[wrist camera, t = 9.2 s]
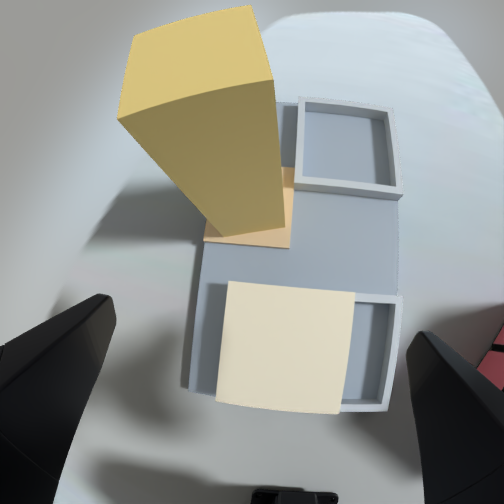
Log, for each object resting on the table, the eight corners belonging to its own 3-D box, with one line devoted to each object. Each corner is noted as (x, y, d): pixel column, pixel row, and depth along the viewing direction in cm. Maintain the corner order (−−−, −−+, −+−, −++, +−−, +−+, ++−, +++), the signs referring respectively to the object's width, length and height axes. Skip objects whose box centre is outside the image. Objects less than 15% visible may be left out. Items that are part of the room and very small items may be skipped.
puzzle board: (377, 406, 17) (388, 417, 14) (192, 388, 18) (179, 397, 16) (386, 119, 20) (393, 101, 18) (231, 107, 22) (225, 88, 20)
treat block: (285, 227, 19) (273, 79, 6) (223, 237, 19) (116, 118, 6) (275, 171, 19) (251, 4, 7) (218, 181, 20) (133, 35, 7)
